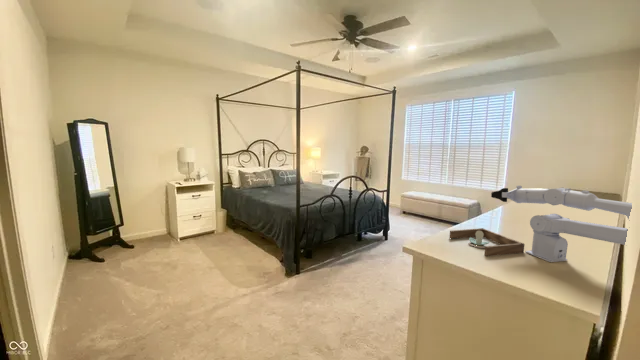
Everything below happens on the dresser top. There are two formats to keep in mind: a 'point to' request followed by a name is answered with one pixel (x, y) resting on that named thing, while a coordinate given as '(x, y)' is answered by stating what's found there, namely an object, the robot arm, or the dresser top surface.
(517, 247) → the open box
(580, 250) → the dresser top surface
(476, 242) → the pacifier
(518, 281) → the dresser top surface
